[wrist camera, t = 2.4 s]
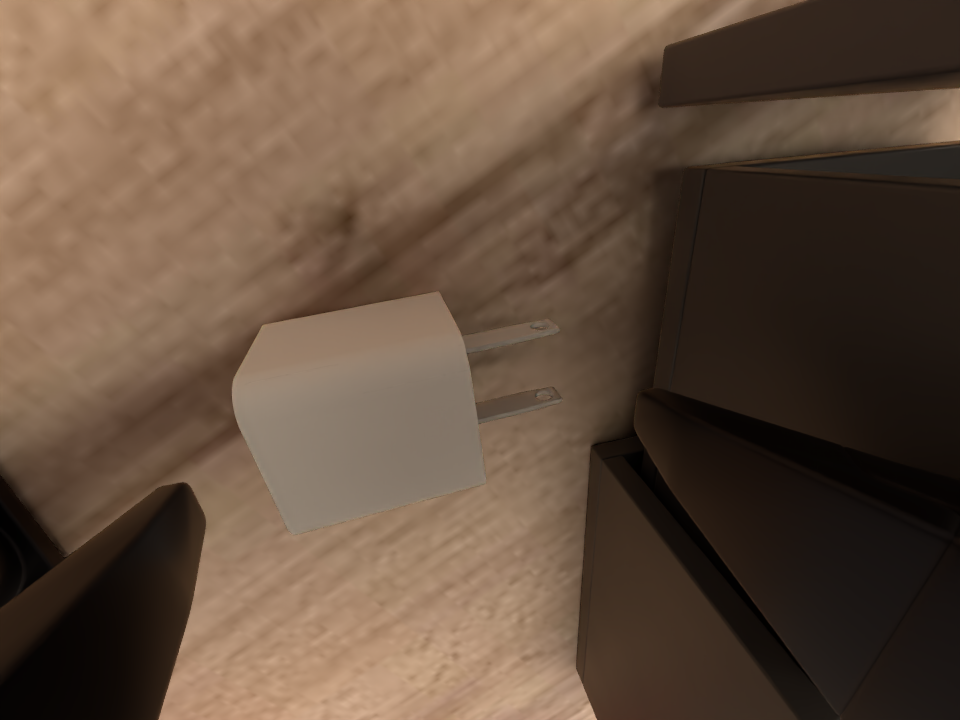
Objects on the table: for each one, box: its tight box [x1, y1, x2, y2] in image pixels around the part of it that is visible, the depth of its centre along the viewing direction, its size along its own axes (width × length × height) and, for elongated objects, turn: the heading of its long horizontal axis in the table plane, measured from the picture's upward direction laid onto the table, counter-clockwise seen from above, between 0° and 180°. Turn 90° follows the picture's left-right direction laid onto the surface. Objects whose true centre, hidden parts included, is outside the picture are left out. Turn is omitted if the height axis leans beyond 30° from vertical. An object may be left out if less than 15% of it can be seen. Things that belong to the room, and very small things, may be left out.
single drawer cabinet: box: [576, 436, 840, 720], centre depth 16 cm, size 15×13×10 cm
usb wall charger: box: [232, 291, 563, 535], centre depth 11 cm, size 4×7×4 cm, turn 97°
